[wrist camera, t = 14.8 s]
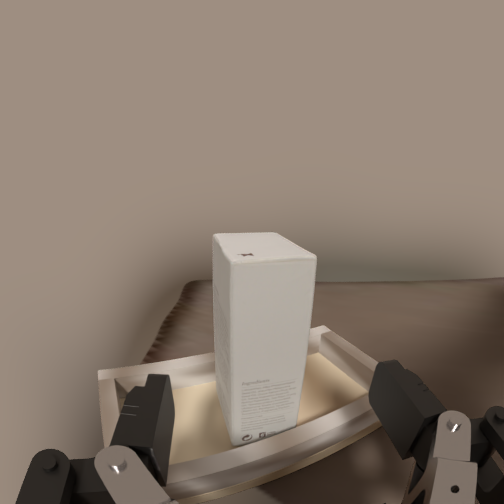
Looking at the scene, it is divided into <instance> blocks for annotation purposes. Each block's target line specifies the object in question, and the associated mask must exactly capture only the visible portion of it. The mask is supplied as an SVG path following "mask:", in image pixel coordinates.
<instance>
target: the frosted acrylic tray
mask: <svg viewBox="0 0 504 504" xmlns="http://www.w3.org/2000/svg"><path fill="white" fill-rule="evenodd" d="M377 364H378V362H377V361H375V360H374V359H372V358H371V357H369V356H368V355H366V354H365V353H363V352H362V351H360V350H359V349H358V348H356V347H355V346H353V345H352V344H350V343H349V342H347V341H346V340H344V339H343V338H341V337H340V336H338V335H337V334H336V333H334V332H333V331H331V330H330V329H328V328H327V327H325V326H324V325H323V326H319V327H316V328H312V329H310V335H309V343H308V351H307V359H306V366H305V374H304V380H303V387H302V393H301V400H300V406H299V412H298V419H297V424H296V428H293V429H291V430H288V431H286V432H283V433H280V434H278V435H275V436H272V437H269V438H266V439H264V440H261V441H258V442H255V443H252V444H246V445H239V446H233V445H232V444H231V440H230V437H229V433H228V430H227V427H226V423H225V420H224V417H223V413H222V409H221V406H220V402H219V399H218V395H217V391H216V371H215V352H212V353H207V354H202V355H196V356H191V357H186V358H180V359H174V360H168V361H162V362H156V363H150V364H143V365H137V366H130V367H122V368H114V369H107V370H98V382H99V398H100V410H101V421H102V430H103V438H104V446H105V448H106V447H109V445H110V443H111V440H112V437H113V433H114V430H115V427H116V424H117V421H118V418H119V415H121V410H122V407H123V404H124V401H125V398H126V395H127V394H128V393H129V392H130V391H131V390H132V389H133V388H134V387H135V386H145V383H146V380H147V377H148V374H168V375H169V376H170V381H171V387H172V393H173V399H174V406H175V420H174V428H173V435H172V443H171V450H170V458H169V467H168V475H167V484H166V487H162V486H161V488H162V489H163V490H164V491H165V492H166V494H167V495H168V496H169V497H170V498H171V499H175V500H176V501H177V502H178V503H179V504H199V503H203V502H207V501H211V500H215V499H218V498H222V497H225V496H228V495H232V494H235V493H238V492H241V491H244V490H247V489H250V488H253V487H256V486H259V485H262V484H264V483H267V482H270V481H272V480H275V479H277V478H280V477H282V476H285V475H287V474H290V473H292V472H294V471H297V470H299V469H301V468H304V467H306V466H308V465H310V464H312V463H314V462H317V461H319V460H321V459H323V458H325V457H327V456H329V455H331V454H333V453H335V452H337V451H339V450H341V449H342V448H344V447H346V446H348V445H350V444H352V443H354V442H355V441H357V440H359V439H361V438H362V437H364V436H366V435H367V434H369V433H371V432H373V431H374V430H376V429H377V428H379V427H381V426H382V424H381V422H380V420H379V419H378V417H377V415H376V414H375V412H374V410H373V409H372V407H371V405H370V403H369V397H368V394H369V389H370V386H371V382H372V379H373V375H374V371H375V368H376V365H377Z"/></svg>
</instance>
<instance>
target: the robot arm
mask: <svg viewBox="0 0 504 504" xmlns="http://www.w3.org/2000/svg"><path fill="white" fill-rule="evenodd" d="M368 397H369V403H370V405H371V407H372V409H373V410H374V412H375V414H376V415H377V417H378V419H379V420H380V422H381V424H382V426H383V427H384V429H385V431H386V432H387V434H388V436H389V437H390V439H391V441H392V443H393V444H394V446H395V448H396V449H397V451H398V453H399V455H400V456H401V458H402V460H404V459H407V458H410V457H414V458H415V461H414V463H413V465H412V469H411V473H410V476H409V480H408V484H407V487H406V490H405V494H404V497H403V500H402V502H401V504H474V503H475V496H476V498H477V499H478V501H479V503H480V504H504V475H503V473H502V472H501V470H500V469H499V467H498V466H497V465H496V463H495V462H494V460H493V459H492V457H491V456H492V454H493V453H494V452H495V450H497V452H498V453H499V454H500V456H501V457H502V459H503V460H504V408H503V407H499V406H495V407H491V408H489V409H488V410H487V412H486V414H485V416H484V417H483V418H477V419H469V418H468V417H467V416H466V415H464V414H463V413H461V412H458V411H447V410H446V409H445V407H444V406H443V405H442V404H441V403H440V401H439V400H438V399H437V398H436V397H435V396H434V394H433V393H432V392H431V391H430V390H429V389H428V387H427V386H426V385H425V384H423V382H422V380H421V379H420V378H419V377H418V376H417V375H416V374H414V373H413V372H411V371H409V370H408V369H404V368H403V367H402V365H401V364H400V363H399V362H398V361H397V360H390V361H384V362H379V363H378V364H377V365H376V368H375V371H374V375H373V379H372V382H371V386H370V389H369V394H368ZM174 420H175V406H174V399H173V393H172V387H171V381H170V376H169V375H168V374H148V377H147V380H146V383H145V386H135V387H134V388H133V389H132V390H131V391H130V392H129V393H128V394H127V395H126V398H125V401H124V404H123V407H122V410H121V415H119V418H118V421H117V424H116V427H115V430H114V433H113V437H112V440H111V443H110V445H109V447H106V448H104V449H102V450H101V451H100V452H99V453H98V454H97V455H96V457H94V458H89V459H73V460H69V459H68V458H67V456H66V455H65V454H64V453H63V452H60V451H59V450H55V449H46V450H42V451H40V452H38V453H37V454H36V455H35V456H34V457H33V459H32V461H31V463H30V466H29V468H28V471H27V473H26V476H25V479H24V481H23V484H22V487H21V489H20V492H19V495H18V498H17V501H16V504H179V503H178V502H177V501H176V500H175V499H171V498H170V497H169V496H168V495H167V494H166V492H165V491H164V490H163V489H162V488H161V486H162V487H166V484H167V475H168V467H169V458H170V450H171V443H172V435H173V428H174ZM384 504H386V503H384Z"/></svg>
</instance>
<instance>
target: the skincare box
mask: <svg viewBox="0 0 504 504" xmlns="http://www.w3.org/2000/svg"><path fill="white" fill-rule="evenodd" d="M316 264H317V257H316V255H314V254H312V253H310V252H308V251H307V250H305V249H303V248H301V247H299V246H297V245H296V244H294V243H293V242H291V241H289V240H287V239H286V238H284V237H282V236H281V235H279V234H277V233H275V232H273V233H271V232H269V233H268V232H267V233H219V234H214V235H213V312H214V345H215V371H216V391H217V395H218V399H219V402H220V406H221V409H222V413H223V417H224V420H225V423H226V427H227V430H228V433H229V437H230V440H231V444H232V445H233V446H239V445H246V444H252V443H255V442H258V441H261V440H264V439H266V438H269V437H272V436H275V435H278V434H280V433H283V432H286V431H288V430H291V429H293V428H296V424H297V419H298V412H299V406H300V400H301V393H302V387H303V380H304V374H305V366H306V359H307V351H308V343H309V335H310V326H311V317H312V307H313V298H314V287H315V276H316Z"/></svg>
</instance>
